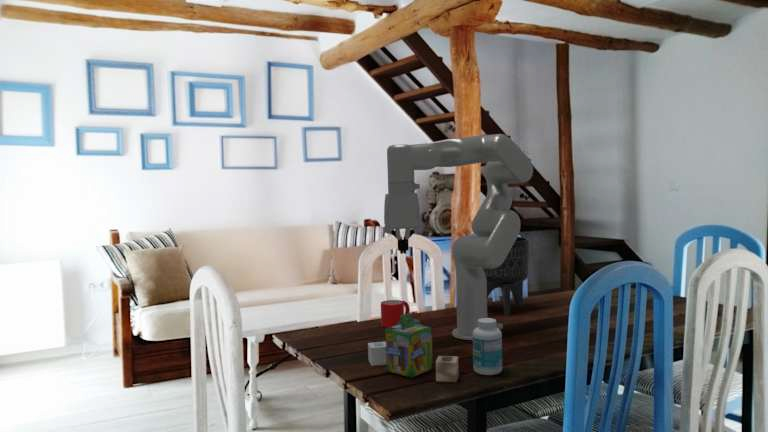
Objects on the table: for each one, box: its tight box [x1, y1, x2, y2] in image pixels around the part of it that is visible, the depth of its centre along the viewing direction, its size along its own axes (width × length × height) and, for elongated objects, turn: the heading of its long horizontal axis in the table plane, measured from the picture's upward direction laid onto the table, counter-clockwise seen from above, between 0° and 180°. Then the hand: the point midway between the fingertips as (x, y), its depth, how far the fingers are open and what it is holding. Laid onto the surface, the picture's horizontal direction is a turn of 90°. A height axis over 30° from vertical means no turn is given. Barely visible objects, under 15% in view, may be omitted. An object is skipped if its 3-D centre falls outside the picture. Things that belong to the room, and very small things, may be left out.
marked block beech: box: [435, 355, 460, 383], centre depth 150 cm, size 5×5×5 cm
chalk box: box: [384, 312, 434, 379], centre depth 157 cm, size 9×9×15 cm
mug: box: [380, 299, 411, 329], centre depth 206 cm, size 8×12×8 cm, turn 135°
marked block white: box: [367, 341, 387, 367], centre depth 165 cm, size 5×5×5 cm
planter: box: [483, 236, 530, 316], centre depth 220 cm, size 20×20×26 cm
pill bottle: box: [472, 317, 503, 376], centre depth 154 cm, size 8×7×14 cm
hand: (403, 253), depth 170 cm, fingers closed
